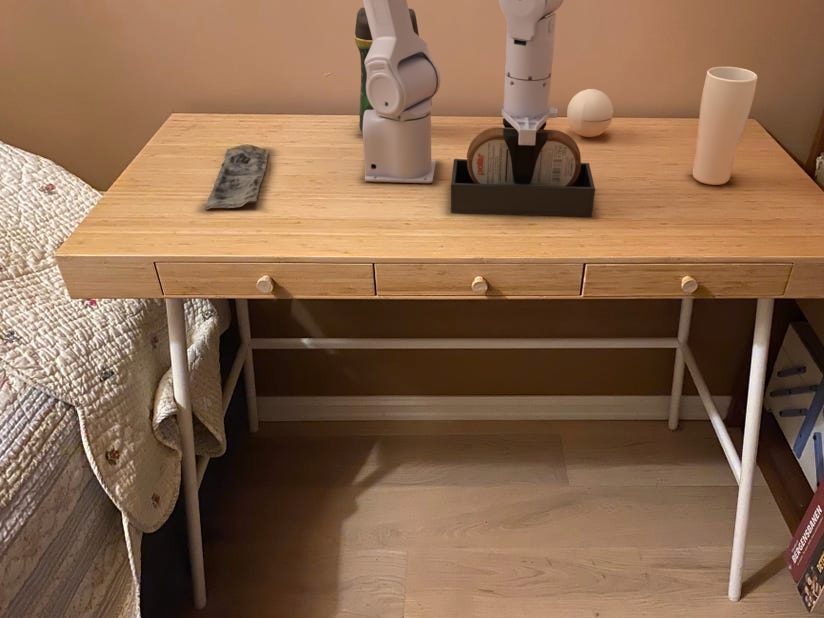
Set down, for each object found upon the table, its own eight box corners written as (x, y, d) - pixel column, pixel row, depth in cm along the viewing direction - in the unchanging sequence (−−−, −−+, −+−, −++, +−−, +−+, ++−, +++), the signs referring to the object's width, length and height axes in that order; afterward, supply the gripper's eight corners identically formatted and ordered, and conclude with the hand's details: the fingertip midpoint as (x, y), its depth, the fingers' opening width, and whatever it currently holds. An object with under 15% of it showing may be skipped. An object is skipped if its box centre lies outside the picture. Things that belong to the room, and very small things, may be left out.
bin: (450, 213, 104) (450, 184, 101) (453, 186, 111) (453, 158, 108) (591, 217, 104) (595, 188, 101) (586, 190, 111) (589, 162, 108)
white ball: (568, 144, 124) (572, 97, 120) (562, 127, 130) (566, 82, 126) (631, 144, 125) (637, 98, 121) (622, 128, 131) (628, 83, 127)
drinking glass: (738, 175, 116) (762, 70, 107) (729, 192, 111) (754, 84, 102) (692, 166, 118) (712, 63, 110) (681, 182, 113) (701, 76, 105)
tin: (577, 190, 107) (583, 128, 103) (579, 199, 105) (585, 135, 100) (466, 186, 108) (467, 124, 103) (465, 195, 105) (466, 131, 100)
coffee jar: (358, 140, 123) (350, 14, 112) (362, 123, 130) (354, 1, 119) (420, 141, 124) (418, 15, 113) (421, 123, 130) (418, 2, 119)
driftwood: (228, 150, 119) (226, 137, 118) (274, 150, 120) (273, 136, 118) (204, 213, 103) (201, 198, 101) (257, 211, 103) (255, 197, 102)
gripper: (564, 93, 91) (555, 202, 99) (557, 58, 103) (549, 157, 111) (503, 91, 91) (499, 200, 99) (502, 56, 103) (498, 156, 111)
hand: (521, 178), depth 105 cm, fingers closed on tin, 2 cm apart
